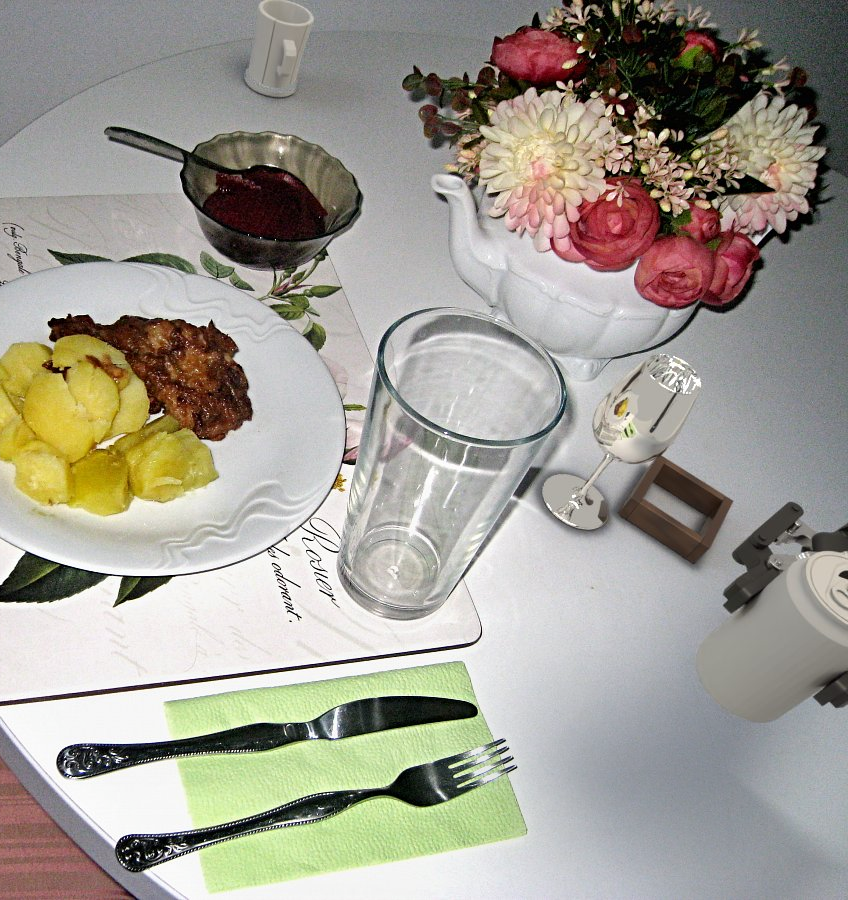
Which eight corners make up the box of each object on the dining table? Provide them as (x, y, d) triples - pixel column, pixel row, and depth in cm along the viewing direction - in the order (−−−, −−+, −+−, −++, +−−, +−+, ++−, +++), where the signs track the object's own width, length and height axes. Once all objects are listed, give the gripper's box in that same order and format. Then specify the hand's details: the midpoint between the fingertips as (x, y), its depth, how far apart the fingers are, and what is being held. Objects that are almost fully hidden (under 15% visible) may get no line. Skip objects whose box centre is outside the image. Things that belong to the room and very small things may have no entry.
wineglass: (527, 494, 98) (619, 363, 83) (564, 464, 102) (658, 334, 88) (585, 543, 95) (691, 415, 80) (620, 509, 99) (727, 383, 85)
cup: (313, 96, 148) (333, 24, 140) (277, 109, 143) (295, 35, 134) (268, 66, 152) (284, -6, 143) (231, 78, 147) (246, 4, 138)
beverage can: (797, 700, 61) (929, 610, 52) (745, 745, 58) (876, 657, 49) (722, 626, 64) (835, 529, 55) (670, 665, 61) (780, 569, 52)
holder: (718, 516, 102) (733, 500, 100) (693, 564, 96) (709, 548, 94) (645, 470, 104) (659, 453, 102) (617, 513, 99) (631, 497, 97)
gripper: (859, 444, 63) (722, 525, 55) (1054, 604, 56) (930, 722, 48) (792, 508, 69) (658, 589, 61) (961, 660, 62) (836, 774, 54)
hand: (779, 647), depth 55 cm, fingers closed on beverage can, 6 cm apart
